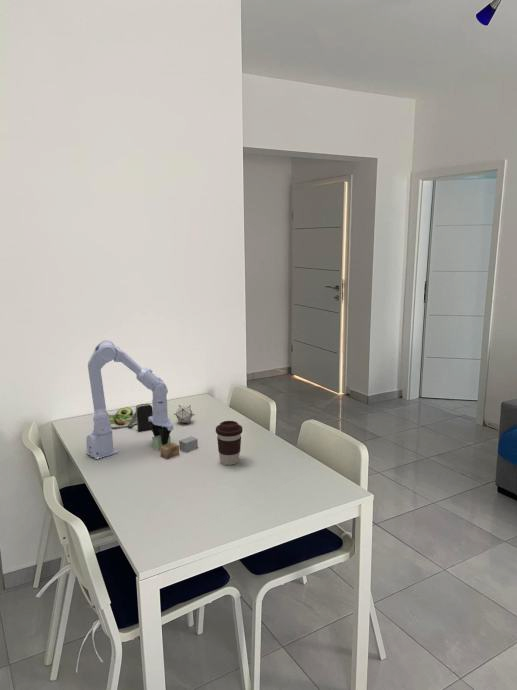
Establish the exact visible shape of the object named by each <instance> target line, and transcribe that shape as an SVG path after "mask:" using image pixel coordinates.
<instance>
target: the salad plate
mask: <svg viewBox="0 0 517 690" xmlns="http://www.w3.org/2000/svg"><path fill="white" fill-rule="evenodd" d="M109 416H110V423H111V428H112V429H124V428H130V427H132V426H133V427H134V426H135V425H137V417H136V411H135V412H134V411H133V409H132V408H131V407H127V406H126V407H121V408H120V409H117V412H115V413H110V414H109ZM112 424H116V425H112Z"/></svg>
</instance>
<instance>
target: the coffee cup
mask: <svg viewBox="0 0 517 690" xmlns="http://www.w3.org/2000/svg"><path fill="white" fill-rule="evenodd" d="M242 433H243V426H242V425H241V424H239V423H238V421H235V420H225V421H221V422H220V423H219V424H218V425H216V427H215V434H217V438H216V439H217V451H218V454H219V461H220V463H221V464H223V465H227V466H232V465H236V464H238V462H239V461H240V452H241V448H242V447H241V445H242V435H241V434H242Z"/></svg>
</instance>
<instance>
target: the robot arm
mask: <svg viewBox="0 0 517 690" xmlns="http://www.w3.org/2000/svg"><path fill="white" fill-rule="evenodd" d="M112 361H113V362H114V363H122V364H123V365H124V366H125V367H126V368H128V369H129V370H130V371H132V372H133V373H134V374H135V375H136V380H138V382H139V383H141V384H142V385H143V386H144V387H145V388H146V389H147V390H150V391H151V392H152V401H151V402H152V409H153V416H150V417H148V419H149V422H152V424H151V425H149V427H150V428H151V429H150V430H151V431H152V434H153V437H155V436H158V435H160V436H161V442H162V445H165V444H167V443H168V438H169V436H171V435H170V434H171V432H172V431H173V430H174V424H173V423H171V422H170V421H171V418H169V417H168V399H167V396H168V395H167V394H168V392H169V389H168V387H167V384H166V383H165V382H164V380H163V379H162V378H161V377H158V376H157V375H155V374H154V373H153V370H152V369H151V368H148V367H141V366H140V365H139V364H138V363H137V362H136V361H135V359H133V358H132V357H131V356H129V355H128V353H126V352H125V351H124V350H123V349H121V347H120V346H118V345H116V344H114V342H112V341H111V340H108V339H107V340H106V339H105V340H103V341H100V343H98V344H97V345H96V346H95V348H94V350H93V352H92V354H91V356H90V357H89V360H88V362H87V371H88V377H89V383H90V384H89V385H90V390H91V392H90V393H91V398H92V404H93V412H94V416H93V419H92V420H93V430H92V433H90V434H89V435H87V436H86V441H85V442H86V451H87V452H86V455H88V456H89V455H90V456H89V457H91V458H92V457H94V458H96V459H97V458H98V457H99V458H100V459H102V458H101V457H103V458H106V457H109V456H112V455H115V454H118V453H119V451H118V450H116V449H114V438H113V428H111V426H112V424H111V423H110V416H109V415H110V414H109V413H108V411H107V406H106V397H105V391H104V384H103V377H102V371H101V370H102V368H103V367H104V366H105V365H106V364H108V363H110V362H112ZM105 456H106V457H105ZM94 458H93V459H94ZM96 459H95V460H96ZM97 460H98V459H97Z"/></svg>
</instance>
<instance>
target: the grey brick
mask: <svg viewBox="0 0 517 690" xmlns="http://www.w3.org/2000/svg"><path fill="white" fill-rule="evenodd" d="M178 443H179V444H178V445H179V451H182V452H184V453H188V452H190V450H191V451H193V449H194V450H196V448H197V449H198V448H199V445H198V438H196V437H194V436H192V435H191V436H189V437H185V438H182V439H180V440H179V442H178Z"/></svg>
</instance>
